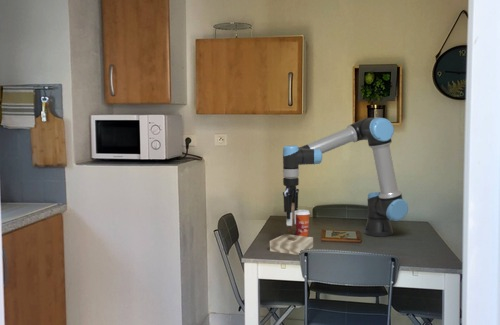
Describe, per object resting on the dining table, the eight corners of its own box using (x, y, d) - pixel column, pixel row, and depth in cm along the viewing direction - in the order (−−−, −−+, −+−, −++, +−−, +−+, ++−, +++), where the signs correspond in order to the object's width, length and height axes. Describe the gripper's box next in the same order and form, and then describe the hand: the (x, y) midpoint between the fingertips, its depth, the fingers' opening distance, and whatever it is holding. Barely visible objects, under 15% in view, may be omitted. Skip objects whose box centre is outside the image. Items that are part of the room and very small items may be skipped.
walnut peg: (295, 232, 245) (295, 202, 244) (292, 234, 242) (292, 203, 241) (289, 232, 247) (289, 202, 246) (286, 233, 244) (286, 203, 243)
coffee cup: (300, 241, 261) (300, 212, 260) (291, 237, 268) (291, 210, 267) (313, 239, 265) (313, 211, 263) (304, 235, 272) (304, 208, 271)
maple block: (313, 247, 248) (313, 237, 248) (299, 255, 235) (299, 244, 234) (284, 243, 256) (284, 234, 256) (269, 251, 243) (269, 241, 242)
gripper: (291, 175, 251) (291, 220, 253) (276, 178, 237) (276, 227, 239) (304, 175, 247) (305, 222, 250) (290, 179, 233) (290, 228, 235)
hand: (291, 224), depth 244 cm, fingers closed on walnut peg, 3 cm apart
